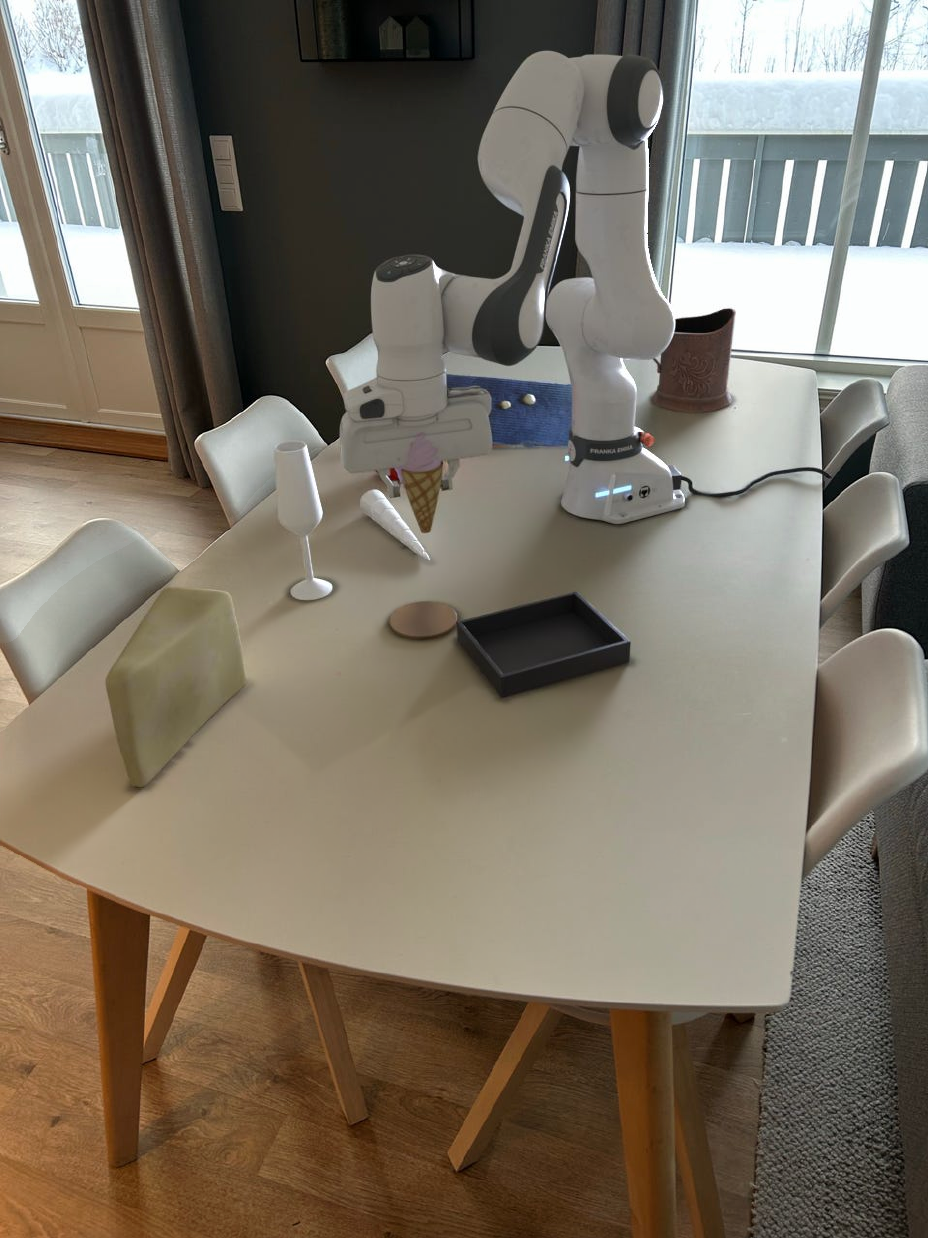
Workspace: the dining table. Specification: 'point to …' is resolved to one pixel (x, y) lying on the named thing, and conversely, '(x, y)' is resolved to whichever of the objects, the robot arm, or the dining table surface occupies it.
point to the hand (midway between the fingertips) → (420, 492)
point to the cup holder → (697, 363)
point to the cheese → (173, 676)
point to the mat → (524, 410)
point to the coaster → (423, 620)
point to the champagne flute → (299, 509)
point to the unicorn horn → (390, 520)
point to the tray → (541, 643)
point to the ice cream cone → (422, 480)
